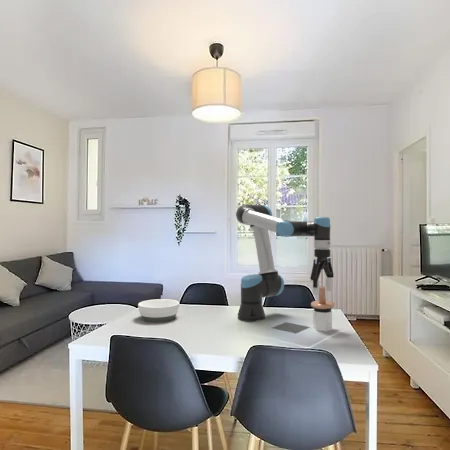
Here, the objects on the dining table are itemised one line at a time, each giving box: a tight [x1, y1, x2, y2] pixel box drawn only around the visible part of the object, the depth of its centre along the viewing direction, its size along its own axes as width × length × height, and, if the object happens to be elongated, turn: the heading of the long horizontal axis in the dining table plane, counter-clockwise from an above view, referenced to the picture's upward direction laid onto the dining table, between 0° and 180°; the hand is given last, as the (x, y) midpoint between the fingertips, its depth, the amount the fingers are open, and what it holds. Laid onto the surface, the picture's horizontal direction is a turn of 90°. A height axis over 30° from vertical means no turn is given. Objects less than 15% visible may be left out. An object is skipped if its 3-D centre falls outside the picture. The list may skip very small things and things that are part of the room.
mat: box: [271, 321, 311, 334], centre depth 177 cm, size 14×14×1 cm
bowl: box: [137, 298, 180, 323], centre depth 199 cm, size 22×22×8 cm
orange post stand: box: [310, 286, 335, 309], centre depth 175 cm, size 11×11×9 cm
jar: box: [312, 308, 333, 332], centre depth 175 cm, size 9×8×12 cm
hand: (322, 292), depth 175 cm, fingers open, 13 cm apart
